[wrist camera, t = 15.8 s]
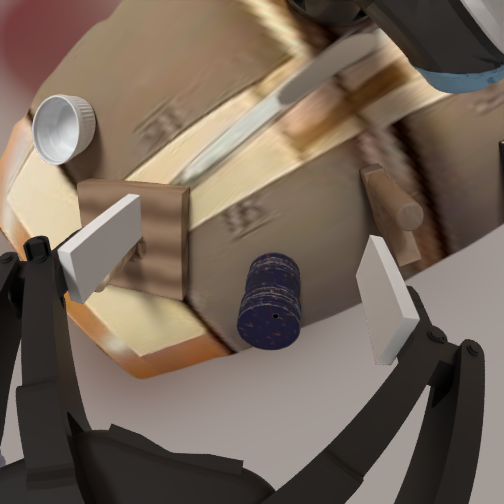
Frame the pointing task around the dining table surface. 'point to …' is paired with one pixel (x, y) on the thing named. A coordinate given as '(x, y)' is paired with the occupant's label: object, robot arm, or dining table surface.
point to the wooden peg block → (393, 213)
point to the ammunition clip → (502, 151)
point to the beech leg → (116, 269)
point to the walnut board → (147, 233)
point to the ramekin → (62, 128)
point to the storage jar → (271, 303)
